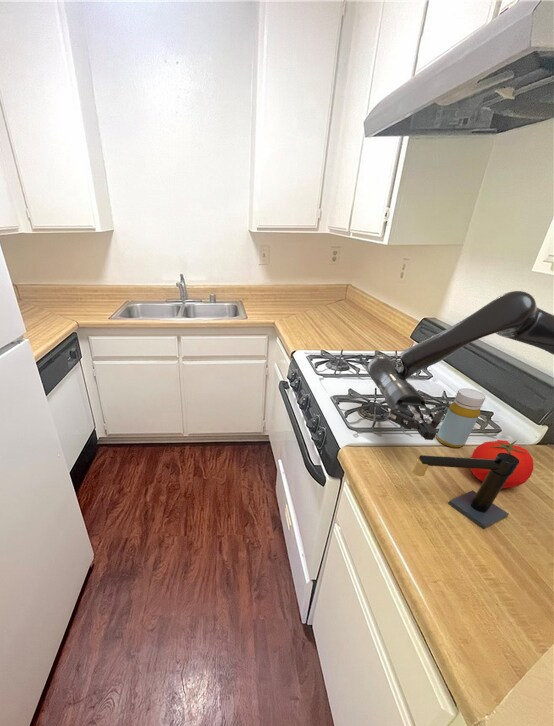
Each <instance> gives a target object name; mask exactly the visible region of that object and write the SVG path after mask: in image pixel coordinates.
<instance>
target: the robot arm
mask: <svg viewBox="0 0 554 726" xmlns="http://www.w3.org/2000/svg"><path fill="white" fill-rule="evenodd" d="M494 334H496V335H497V336H499V337H502V338H506V339H510V340H512V341H516V342H519V343H522V344H525V345H529V346H532V347H535V348H538V349H540V350H542V351H545V352H547V353H548V354H551V355H553V356H554V314H552V313H549V312H547V311H546V310H544V309H541V308H539V307H537V301H536V300H535V298H534V296H533V295H532V294H530V293H528V292H526V291H522V290H514V291H513V290H512V291H509V292H505V293H503V294H501V295H500V296H497V297H496V298H495V299H493V300H491V301H490V302H488V303H487V304H485V305H484V306H482V307H481V308H479V309H478V310H476V311H475V312H473V313H472V314H470V315H469V316H466V317H465V318H463V319H462V320H460V321H458V322H457V323H455V324H454V325H452V326H450V327H448V328H446V329H444V330H442V331H441V332H439V333H437V334H434V335H433V336H431V337H429V338H427V339H425V340H423V341H420V342H418V343H417V344H413V345H412V346H410V347H407V348H406V349H404V350H403V351H401V353H400V355H399V356H400V362H401V365H400V367H398V368H396V366H395V365H394V363H393V361H392V360H391V358H389V357H387V356H384V355H380V356H379V355H378V356H376V357H374V358H372V359H371V360H370V361H369V362H368V364H367V367H366V372H367V375H368V376H369V377H370V379H371V380H372V382H373V383H374V385H375V386H376V387H377V389H379V392H380V394H381V395H382V397H383V398H384V401H385V403H386V404H387V407H388V408H389V409H390V410H389V413H388V416H387V420H389V421H390V422H393V423H394V424H396V425H399V426H401V427H403V428H405V429H406V430H412V429H413V430H414V431H415V432H417V433H418V434H419V435H420V437H422V438H423V439H424V440H426V441H433V440H434V439H435V437H436V436H437V434H438V432H437V430H436V429H437V428H438V426H440V424H441V422H442V421H443V417H444V416H445V412H443V411H438V412H433V411H432V409H431V408H429V407H428V406H427V404H426V400H425V399H424V397H423V396H422V394H420V392H419V391H418V390H417V389H416V387H414V386H413V384H411V383H410V382H408V380H407V379H410V377H411V376H413V375H414V374H416V373H418V372H420V371H421V370H422V371H423V370H424V369H426V368H429V367H431V366H434V365H435V364H437V363H439V362H441V361H443V360H445V359H447V358H448V357H450V356H451V355H453V354H454V353H456V352H458V351H459V350H460V349H462V348H464V347H466V346H468V345H470V344H471V343H473V342H476V341H477V340H480V339H483V338H485V337H488V336H491V335H494Z"/></svg>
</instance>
